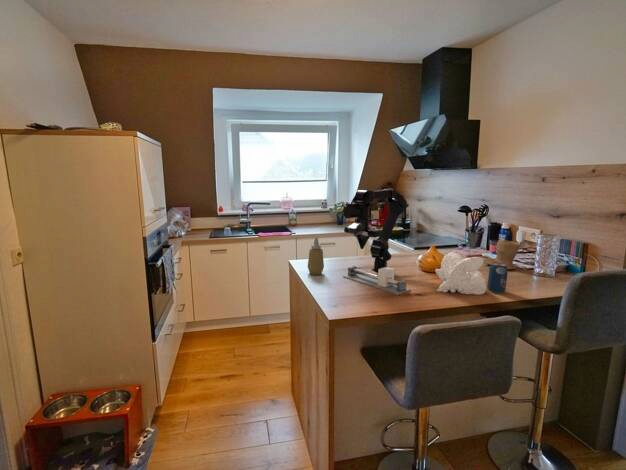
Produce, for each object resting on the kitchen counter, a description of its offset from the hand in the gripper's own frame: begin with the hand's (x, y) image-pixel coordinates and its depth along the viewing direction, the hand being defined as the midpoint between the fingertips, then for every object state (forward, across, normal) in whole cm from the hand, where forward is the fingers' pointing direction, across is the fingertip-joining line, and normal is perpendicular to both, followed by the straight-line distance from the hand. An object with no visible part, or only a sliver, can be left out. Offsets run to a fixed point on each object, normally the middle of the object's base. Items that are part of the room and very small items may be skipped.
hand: (361, 249), depth 169 cm
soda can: (+14, +53, +25) cm, 60 cm away
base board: (+13, +13, -6) cm, 19 cm away
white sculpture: (+13, +42, +14) cm, 46 cm away
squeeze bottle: (+13, -16, -16) cm, 26 cm away
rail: (+13, +13, -6) cm, 19 cm away
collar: (+13, +18, -6) cm, 23 cm away
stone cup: (+14, +40, +70) cm, 82 cm away
